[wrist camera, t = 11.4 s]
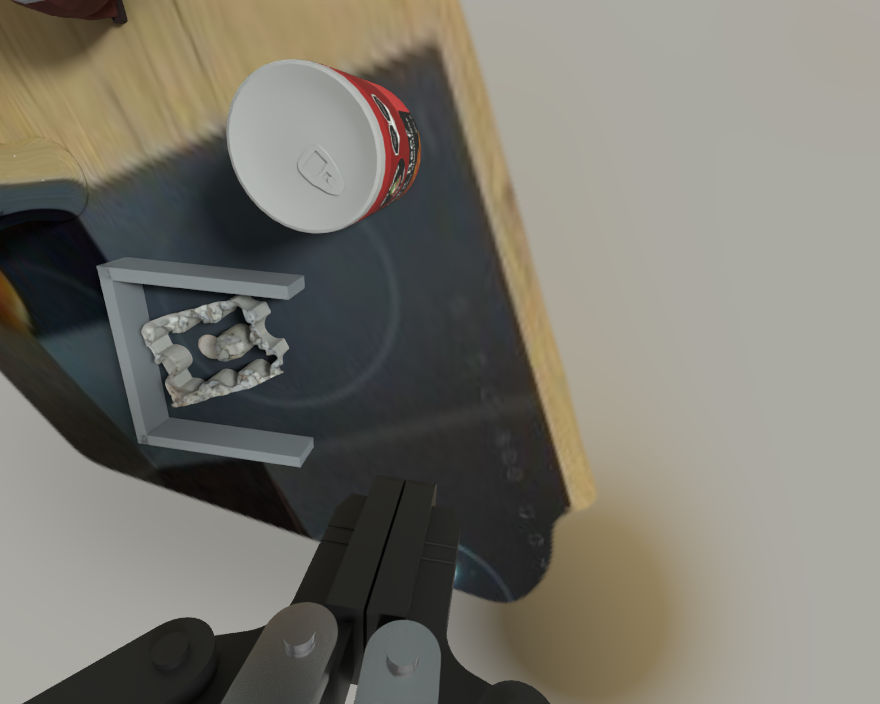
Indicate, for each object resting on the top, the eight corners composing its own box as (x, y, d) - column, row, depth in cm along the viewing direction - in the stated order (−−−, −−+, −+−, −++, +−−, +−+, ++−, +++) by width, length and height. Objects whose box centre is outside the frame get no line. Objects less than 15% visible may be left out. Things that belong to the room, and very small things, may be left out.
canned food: (392, 226, 35) (343, 263, 25) (294, 167, 34) (203, 180, 24) (445, 124, 32) (412, 120, 22) (338, 57, 31) (253, 20, 21)
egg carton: (197, 388, 44) (167, 412, 40) (156, 312, 41) (120, 329, 38) (300, 366, 41) (279, 389, 38) (264, 283, 39) (237, 299, 35)
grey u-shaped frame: (125, 257, 39) (96, 266, 36) (304, 275, 38) (287, 286, 35) (160, 424, 46) (138, 443, 43) (313, 446, 44) (300, 467, 42)
